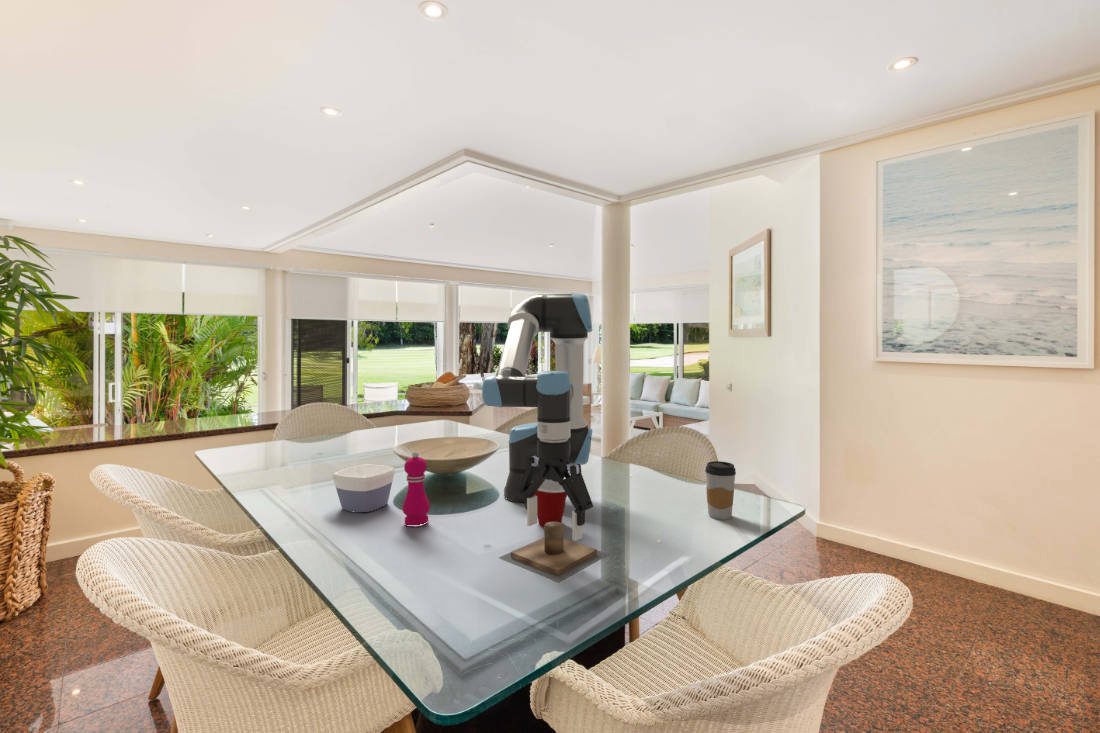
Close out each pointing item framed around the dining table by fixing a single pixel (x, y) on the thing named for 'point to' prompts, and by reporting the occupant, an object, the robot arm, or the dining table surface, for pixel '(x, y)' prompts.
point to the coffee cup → (720, 489)
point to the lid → (554, 551)
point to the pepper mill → (416, 491)
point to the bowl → (364, 487)
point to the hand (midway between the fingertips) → (554, 531)
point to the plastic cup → (550, 502)
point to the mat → (551, 576)
